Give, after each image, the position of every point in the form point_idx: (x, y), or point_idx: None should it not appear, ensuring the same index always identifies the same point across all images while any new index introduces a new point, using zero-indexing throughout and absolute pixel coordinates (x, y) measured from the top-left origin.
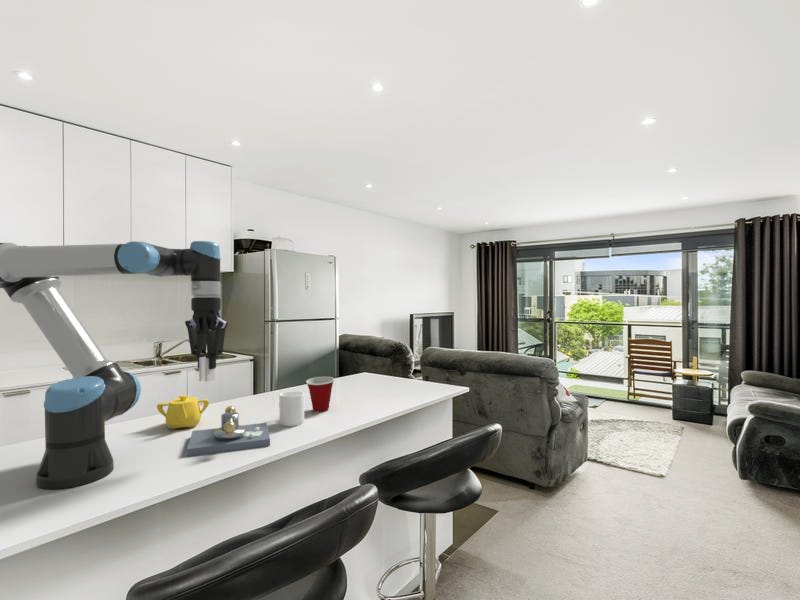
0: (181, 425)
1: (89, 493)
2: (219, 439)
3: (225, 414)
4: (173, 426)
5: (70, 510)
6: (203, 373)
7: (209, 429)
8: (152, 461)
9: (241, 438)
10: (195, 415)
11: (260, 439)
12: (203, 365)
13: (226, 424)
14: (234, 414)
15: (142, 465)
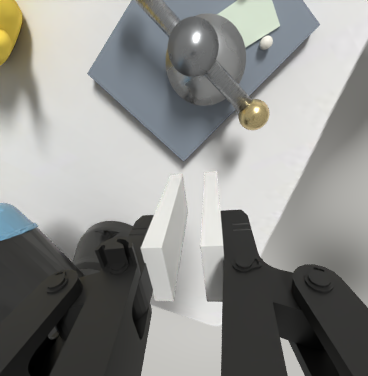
0: (12, 45)
1: (183, 270)
2: None
3: (180, 55)
4: (5, 60)
5: (205, 293)
6: (183, 219)
7: (111, 44)
8: (154, 191)
9: None
10: (2, 4)
11: (296, 42)
12: (178, 246)
13: (254, 127)
14: (206, 40)
15: (156, 206)
